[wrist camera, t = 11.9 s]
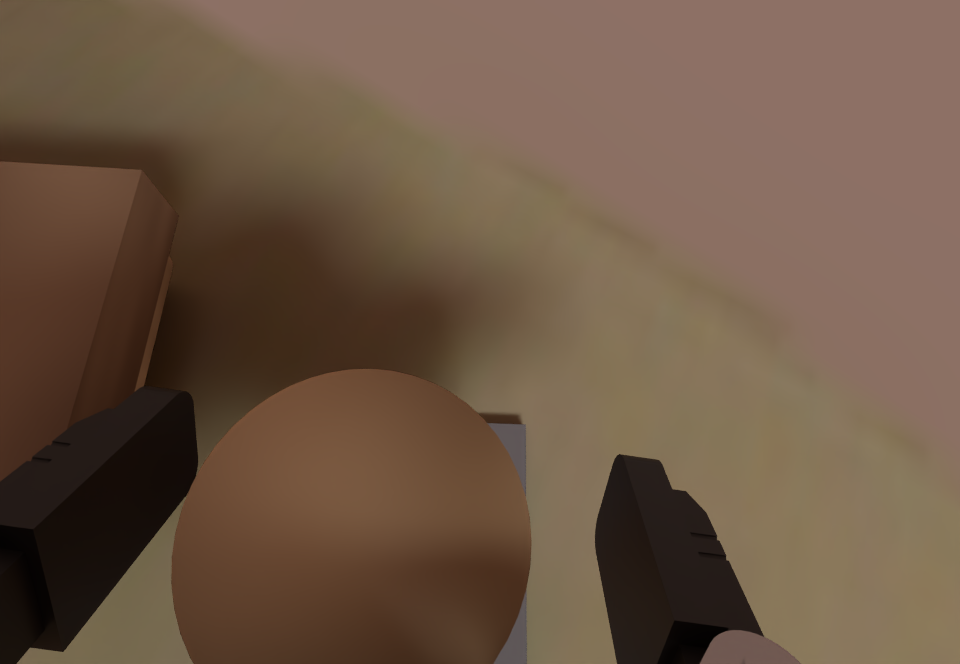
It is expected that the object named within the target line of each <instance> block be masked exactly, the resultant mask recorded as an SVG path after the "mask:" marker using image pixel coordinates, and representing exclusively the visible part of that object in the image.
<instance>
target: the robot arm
mask: <svg viewBox="0 0 960 664" xmlns="http://www.w3.org/2000/svg"><path fill="white" fill-rule="evenodd" d="M197 467H198V452H197V440H196V428H195V416H194V404H193V399H192V396H191V395H190V393H188V392H186V391H179V390H172V389H165V388H158V387H151V386H143V387H141V388H139V389H138V390H136V391H135V392H134V393H133V394H132V395H130V396H129V397H128V398H127V399H125V400H124V401H123V402H122V403H121V404H119V405H118V406H117V407H116V408H114V409H110V408H107V409H105V410H103V411H100V412H98V413H96V414H94V415H91V416H89V417H87V418H85V419H83V420H80V421H78V422H76V423H75V424H73V425H72V426H71V427H70V428H68V429H67V430H66V431H64V432H63V433H62V434H61V435H59V436H58V437H57V438H55V439H54V440H53V441H52V444H51V445H46V446H45V447H44V448H43V449H41V450H40V451H39V452H37V453H36V454H35V455H34V456H32V460H31V461H26V462H25V463H23V464H22V465H21V466H19V467H18V468H17V469H16V470H14V471H13V472H12V473H11V474H9V475H8V476H7V477H5V478H4V479H3V480H2V481H0V664H16V663H17V662H18V661H19V660H20V659H21V657H22V656H23V655H24V654H25V653H26V652H27V650H28V649H29V648H30V647H31V648H38V649H46V650H53V651H60V652H64V650H65V649H66V648H67V646H68V645H69V644H70V643H71V641H72V640H73V639H74V638H75V636H76V635H77V634H78V632H79V631H80V630H81V629H82V627H83V626H84V625H85V624H86V622H87V621H88V620H89V618H90V617H91V616H92V615H93V613H94V612H95V611H96V610H97V608H98V607H99V606H100V604H101V603H102V602H103V601H104V599H105V598H106V597H107V596H108V594H109V593H110V592H111V590H112V589H113V588H114V587H115V585H116V584H117V583H118V582H119V580H120V579H121V578H122V576H123V575H124V574H125V573H126V571H127V570H128V569H129V567H130V566H131V565H132V564H133V562H134V561H135V560H136V559H137V557H138V556H139V555H140V553H141V552H142V551H143V550H144V548H145V547H146V546H147V545H148V543H149V542H150V541H151V539H152V538H153V537H154V536H155V534H156V533H157V532H158V531H159V529H160V528H161V527H162V525H163V524H164V523H165V522H166V520H167V519H168V518H169V517H170V515H171V514H172V513H173V511H174V510H175V509H176V508H177V506H178V505H179V504H180V503H181V501H182V500H183V499H184V497H185V496H186V495H187V493H188V492H189V490H190V488H191V485H192V483H193V481H194V479H195V476H196V472H197ZM595 548H596V555H597V560H598V566H599V571H600V576H601V581H602V586H603V592H604V597H605V602H606V607H607V613H608V618H609V623H610V628H611V634H612V639H613V644H614V649H615V655H616V660H617V664H801V663H800V662H799V661H798V660H797V659H796V658H795V657H794V656H792V655H791V654H790V653H789V652H788V651H786V650H785V649H784V648H782V647H781V646H779V645H778V644H776V643H774V642H773V641H771V640H769V639H767V638H765V637H764V635H763V633H762V631H761V629H760V627H759V625H758V623H757V620H756V618H755V616H754V614H753V612H752V610H751V608H750V605H749V603H748V601H747V599H746V597H745V595H744V593H743V590H742V588H741V586H740V584H739V582H738V580H737V578H736V575H735V573H734V571H733V569H732V567H731V565H730V563H729V561H727V560H726V554H725V552H724V550H723V548H722V545H721V543H720V541H718V540H717V535H716V533H715V530H714V528H713V526H712V524H711V522H710V520H709V518H708V515H707V513H706V512H705V511H704V510H703V509H702V508H701V507H700V506H699V505H698V504H697V503H696V501H695V500H694V499H693V498H692V497H691V496H690V495H689V494H688V493H687V492H686V491H680V490H673V489H672V487H671V485H670V482H669V480H668V478H667V475H666V473H665V470H664V468H663V465H662V463H661V462H660V461H659V460H656V459H649V458H642V457H635V456H628V455H620V454H619V455H617V456H616V458H615V460H614V463H613V466H612V469H611V472H610V476H609V479H608V483H607V486H606V490H605V493H604V497H603V500H602V504H601V507H600V511H599V514H598V518H597V523H596V531H595Z"/></svg>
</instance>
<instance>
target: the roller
mask: <svg viewBox="0 0 960 664" xmlns="http://www.w3.org/2000/svg"><path fill="white" fill-rule="evenodd" d="M530 560H531V529H530V517H529V511H528V506H527V501H526V496H525V493H524V490H523V486H522V483H521V480H520V477H519V474H518V472H517V470H516V468H515V466H514V463H513V461H512V459H511V457H510V455H509V453H508V451H507V450H506V448H505V447H504V445H503V444H502V442H501V440H500V439H499V437H498V436H497V434H496V433H495V432H494V431H493V430H492V428H491V427H490V426H489V425H488V424H487V422H486V421H485V420H484V419H483V418H482V417H481V416H480V415H479V414H478V413H477V412H476V411H475V410H473V409H472V408H471V407H470V406H469V405H468V404H467V403H465V402H464V401H462V400H461V399H460V398H458V397H457V396H455V395H454V394H452V393H451V392H449V391H447V390H445V389H444V388H442V387H440V386H438V385H436V384H434V383H432V382H429V381H427V380H424V379H421V378H419V377H416V376H413V375H409V374H405V373H400V372H396V371H390V370H380V369H350V370H343V371H336V372H330V373H326V374H322V375H319V376H315V377H311V378H308V379H306V380H303V381H301V382H298V383H296V384H293V385H291V386H289V387H287V388H285V389H283V390H281V391H279V392H278V393H276V394H274V395H272V396H270V397H269V398H267V399H266V400H264V401H263V402H262V403H260V404H259V405H257V406H256V407H254V408H253V409H252V410H250V411H249V412H248V413H247V414H246V415H245V416H244V417H243V418H241V419H240V420H239V421H238V422H237V423H236V424H235V425H234V426H233V427H232V428H231V429H230V430H229V431H228V432H227V433H226V434H225V436H224V437H223V438H222V439H221V440H220V441H219V442H218V443H217V445H216V446H215V448H214V449H213V450H212V452H211V453H210V455H209V456H208V458H207V459H206V460H205V462H204V463H203V465H202V467H201V469H200V470H199V472H198V474H197V476H196V478H195V480H194V481H193V483H192V485H191V488H190V490H189V493H188V495H187V498H186V500H185V502H184V505H183V507H182V511H181V514H180V518H179V522H178V525H177V529H176V533H175V540H174V547H173V554H172V580H171V584H172V593H173V602H174V610H175V614H176V618H177V622H178V626H179V630H180V634H181V636H182V639H183V641H184V643H185V646H186V648H187V651H188V653H189V656H190V658H191V660H192V661H193V663H194V664H493V663H494V662H495V660H496V658H497V657H498V655H499V653H500V652H501V650H502V648H503V647H504V645H505V643H506V642H507V640H508V638H509V636H510V634H511V631H512V629H513V627H514V624H515V622H516V620H517V618H518V615H519V612H520V609H521V605H522V602H523V599H524V595H525V592H526V587H527V582H528V576H529V570H530Z"/></svg>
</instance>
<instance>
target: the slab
mask: <svg viewBox="0 0 960 664" xmlns="http://www.w3.org/2000/svg"><path fill="white" fill-rule="evenodd" d="M178 217H179V216H178V214H177V213H176V212H175V211H174V209H173V208H172V207H171V206H170V204H169V203H168V202H167V201H166V199H165V198H164V197H163V196H162V194H161V193H160V192H159V191H158V189H157V188H156V187H155V186H154V184H153V183H152V182H151V181H150V179H149V178H148V177H147V175H146V174H145V173H144V172H143V170H136V169H120V168H103V167H86V166H69V165H53V164H36V163H19V162H3V161H0V481H2V480H3V479H4V478H5V477H7V476H8V475H9V474H11V473H12V472H13V471H14V470H16V469H17V468H18V467H19V466H21V465H22V464H23V463H25V462H26V461H31V460H32V456H34V455H35V454H36V453H37V452H39V451H40V450H41V449H43V448H44V447H45V446H46V445H51V444H52V441H53V440H54V439H55V438H57V437H58V436H59V435H61V434H62V433H63V432H64V431H66V430H67V429H68V428H70V427H71V426H72V425H73V424H75V423H76V422H78V421H80V420H83V419H85V418H87V417H89V416H91V415H94V414H96V413H98V412H100V411H103V410H105V409H107V408H110V409H114V408H116V407H117V406H118V405H119V404H121V403H122V402H123V401H124V400H125V399H127V398H128V397H129V396H130V395H132V394H133V393H134V392H135V391H136V390H138V389H139V388H141V387H143V386H144V384H145V380H146V376H147V372H148V368H149V364H150V360H151V355H152V351H153V347H154V343H155V339H156V335H157V331H158V327H159V323H160V319H161V315H162V311H163V307H164V303H165V299H166V295H167V291H168V287H169V283H170V279H171V275H172V271H173V262H172V260H171V258H170V257H169V253H170V249H171V245H172V241H173V237H174V233H175V229H176V225H177V221H178Z"/></svg>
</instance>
